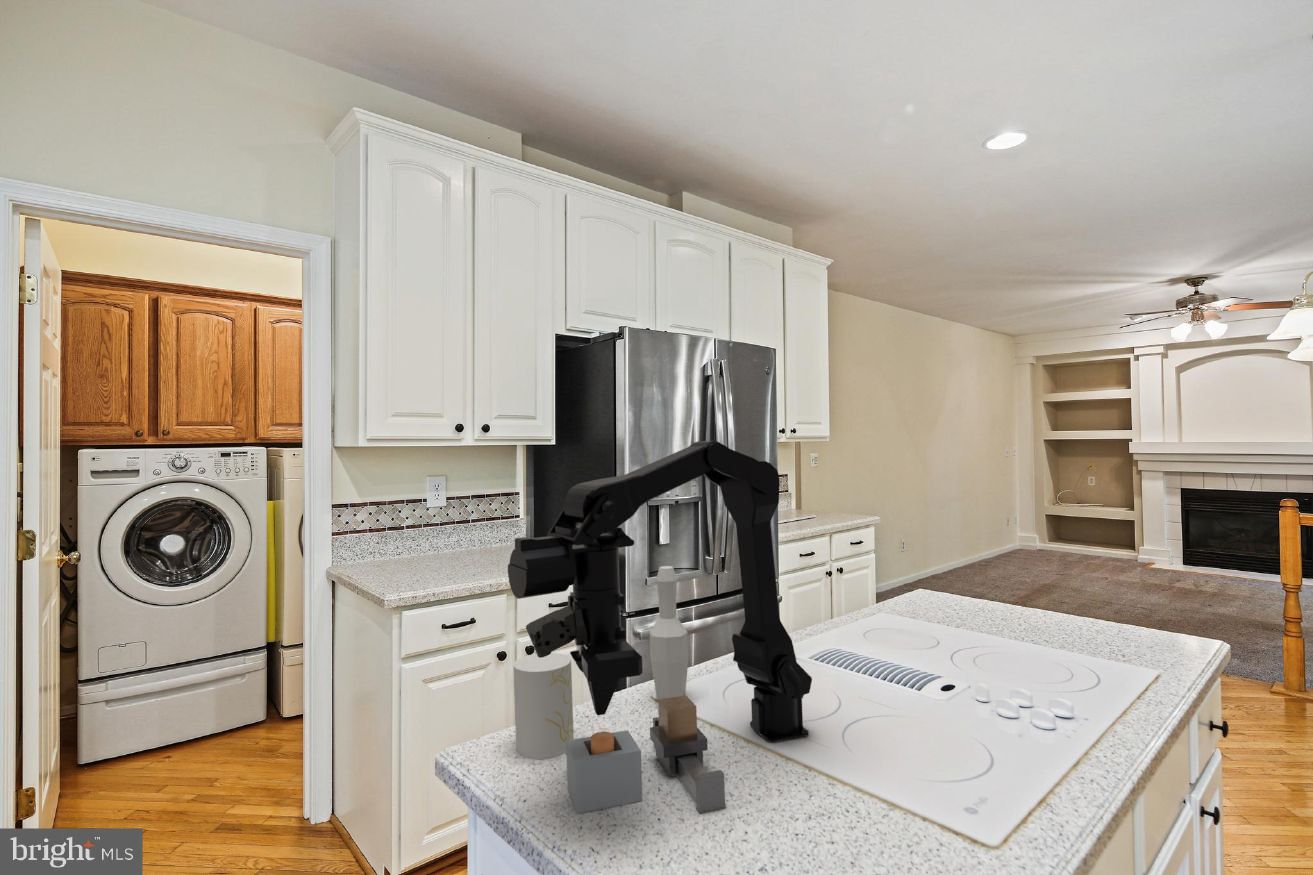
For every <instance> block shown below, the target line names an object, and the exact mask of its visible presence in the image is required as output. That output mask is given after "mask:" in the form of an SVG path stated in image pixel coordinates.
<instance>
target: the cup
mask: <svg viewBox="0 0 1313 875" xmlns="http://www.w3.org/2000/svg"><path fill="white" fill-rule="evenodd" d="M512 666H513V690H514V691H513V692H514V717H515V718H514V721H515V751H516V753H517V754H518V755H519V756H520V757H522V758H525V759H529V760H548V759H553V758H554V759H555V758H558V757H560V756H562V755H565V754H566V741H567V740H573V739H575V738H574V737H575V734H574V709H573V707H574V706H573V680H572V679H573V678H572V677H573V676H572V658H571V657H570V656H569V655H567V654H563V653H558V652H551V654H550V655H548V656H545V657H542V658H539V657H538V656H537V653H534V654H529V655H526V656H523V657H520V658H518V659H516V660H515V661H514V662H513V665H512Z"/></svg>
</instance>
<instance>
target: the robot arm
mask: <svg viewBox="0 0 1313 875" xmlns="http://www.w3.org/2000/svg"><path fill="white" fill-rule="evenodd" d="M779 475H780V474H779V471H778V468H776V467H774V466H773V464H772V463H770V462H768V461H765V460H757V459H756V458H754V457H751V456H749V455H746V454H744V453H742V452H739V451H736V450H734V449H732V448H729V447H728V446H726V445H724V444H723V443H721V442H720V441H716V440H702V441H695V442H693V443H692V444H690V445H689V446H688V447H685V448H682V449H681V450H679V451H676V452H674V453H671V454H669V455H667V456H665V457H662V458H660V459H658V460H656V461H652V462H651V463H649V464H646V465H644V466H642V467H638V468H637V469H635V470H633V471H631V472H628V473H626V474H622V475H618V476H611V477H610V476H609V477H604V478H603V477H602V478H600V479H594V480H590V481H585V482H580V483H577V484H575V485H573V486H572V487H571V488H569V490H568V491H567V492H566V496H565V497H564V498H565V499H564V502H563V508H562V510H561V512H560V513H559V514H558V516H557V518H556V519H555V521H554V523H553V524H552V525H551V527H550V529H549V531H547V535H546V536H540V537H525V536H524V537H515V539H514V548H513V550H512V552H511V553H510V558H509V563H508V564H507V575H508V576H507V577H508V582H509V586H510V590H511V593H512V594H513V596H514V597H515V598H516V599H519V600H520V599H526V598H533V597H538V596H544V595H550V594H551V595H552V594H556V593H562V592H566V591H568V589H569V587H570V586H572V591H571V592H569V595H568V596H567V605H566V606H564V607H562V608H560V609H556V610H553V611H551V612H549V613H547V614H545V615H544V616H543V615H542V616H541V617H539V618H537V619H535V620H533V621H530V622H529V623H527V624H526V626H525V629H526V631H527V634H528V637H529V639H530V641H531V644H532V646H533V648H534V651H535V654H537V656H538V657H539V658H542V657H545V656H548V655H550V654H551V653H553V652H554V651H556V650H558V649H559V648H562V647H564V646H566V645H568V644H571V643H572V642H575V645H576V646H575V648H576V650H571V651H570V652H569V654H570V655H571V657H572V658H571V659H573V660H574V662H575V665H576V666H577V668H578V669H579V671H581V672H582V673H583V675H584V677H585V679H586V682H587V685H588V691H589V693H590V698H591V701H592V706H593V708H594V713H595V715H597V716H602V715H605V714H606V713H607V710H608V708H609V706H610V703H611V701H612V699H613V696H614V694H615V691H616V689H617V687H618V684H619V683H620V680H621V679H625V678H631V677H637V676H641V675H642V674H643V656H642V655H641V654H640V652H638V651H637V650H636V649H635V648H634V646H632V645H631V644H630V643H629V642H627V641H626V640H625V641H618V642H617V640H624V639H626V629H625V628H624V627H622V617H621V612H622V611H621V605H625V595H624V594H623V593H621V590H620V589H621V588H620V587H621V586H620V559H619V558H620V556H619V555H620V554H619V553H620V551H619V549H620V548H626V547H633V546H634V545H635V540H634V539H632V538H631V537H630V536H628V535H627V533H626V532H625V531H623V528H622V527H620V526H621V525H623V524H624V523H626V522H627V521H628V520H629V519H631V518H633V516H635V514H636V513H637V511H638V510H639V509H641V508H640V507H642V506H643V505H644V504H646V503H647V502H649V501H651V500H653V499H655V498H657V497H659V496H661V495H664V494H666V493H668V492H670V491H672V490H674V489H677V488H678V487H681V486H682V485H685V484H686V483H688V482H689V483H690V482H691V481H692V480H693V481H694V480H695V479H697V478H700V477H702V476H704V477H705V478H706V480H707V481H709V482H711V483H712V484H714V485H716V486H718V487H719V488H720V491H721V495H722V500H723V503H724V505H725V508H726V509H727V511H728V513H729V514H730V516H731V518H732V520H733V521H734V522H735V527H736V538H737V548H738V557H739V566H740V567H739V568H740V570H739V571H740V578H741V589H742V599H743V600H742V601H743V610H744V623H743V625H742V627H741V629H740V631H739V632H738V633H733V634H732V636H731V637H732V638H731V641H732V644H733V659H732V660H733V661H734V662H736V663H737V667H738V670H739V671H741V673H742V674H743V677H744V678H745V682H746V684H748V685H752V686H754V687H753V698H751V700H750V701H751V703H750V704H751V706H750V707H751V709H750V710H751V721H750V723H749V724H750V727H752V729H754V730H755V732H757V733H758V734H759V735H760V736H761V737H762V738H764V739H765V740H766V741H767V742H769V743H774V742H780V741H784V740H789V739H797V738H800V737H801V738H802V737H807V736H809V733H810V732H809V730H808V729H807V728H806V727H804V722H803V719H804V718H803V698H804V696H805V695H808V694H810V691H811V687H812V682H813V679H812V678H813V677H812V676H810V675H809V673H808V672H807V671H806V670H804V668H803V667H802V666H801V665H800V664H799V663H798V661H797V658H796V652H795V648H794V645H793V640H792V638H791V637H790V635H789V633H788V631H787V629H786V628H785V626H784V625H783V623H782V621H781V618H780V610H779V608H780V607H779V598H778V588H777V587H778V586H777V578H776V577H777V576H776V568H775V556H774V545H773V533H772V519H773V516H774V515H775V512H776V510H777V508H778V505H779V503H780V485H781V484H780V483H781V482H780V476H779ZM577 528H578V529H577Z"/></svg>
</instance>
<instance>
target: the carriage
mask: <svg viewBox="0 0 1313 875" xmlns="http://www.w3.org/2000/svg"><path fill="white" fill-rule="evenodd" d="M657 709H658V710H657V711H658V714H657V715H658V717H659V726H656V727H653V726H651V727H649V739H650V740H651V742H652V743H653V746H654V745H655V748H654V750H655V757H656V758H657V759H658V761H659V763H660V764H661V766H662V767H663V769H664V770H665V772H666V773H667V774H668V776H669V777H673V776H677V775H676V771H675V756H679V755H684V754H690V753H694V754H695V756H696V757H697V758H698V759H699V761H700V762H701V763H702V764H703V765H704V752H705V751H709V748H708V744H709V743H708V738H707V736H706V735H705V734H704V733H703V732H702V731H701V730H700V728H699V727H698V717H697V715H698V714H697V705H696V704H695V703H694V702H693V701H692V700H691V699H690V697H688V695H686V694H685V695H684V696H677V697H671V698H665V699H658V701H657Z"/></svg>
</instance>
